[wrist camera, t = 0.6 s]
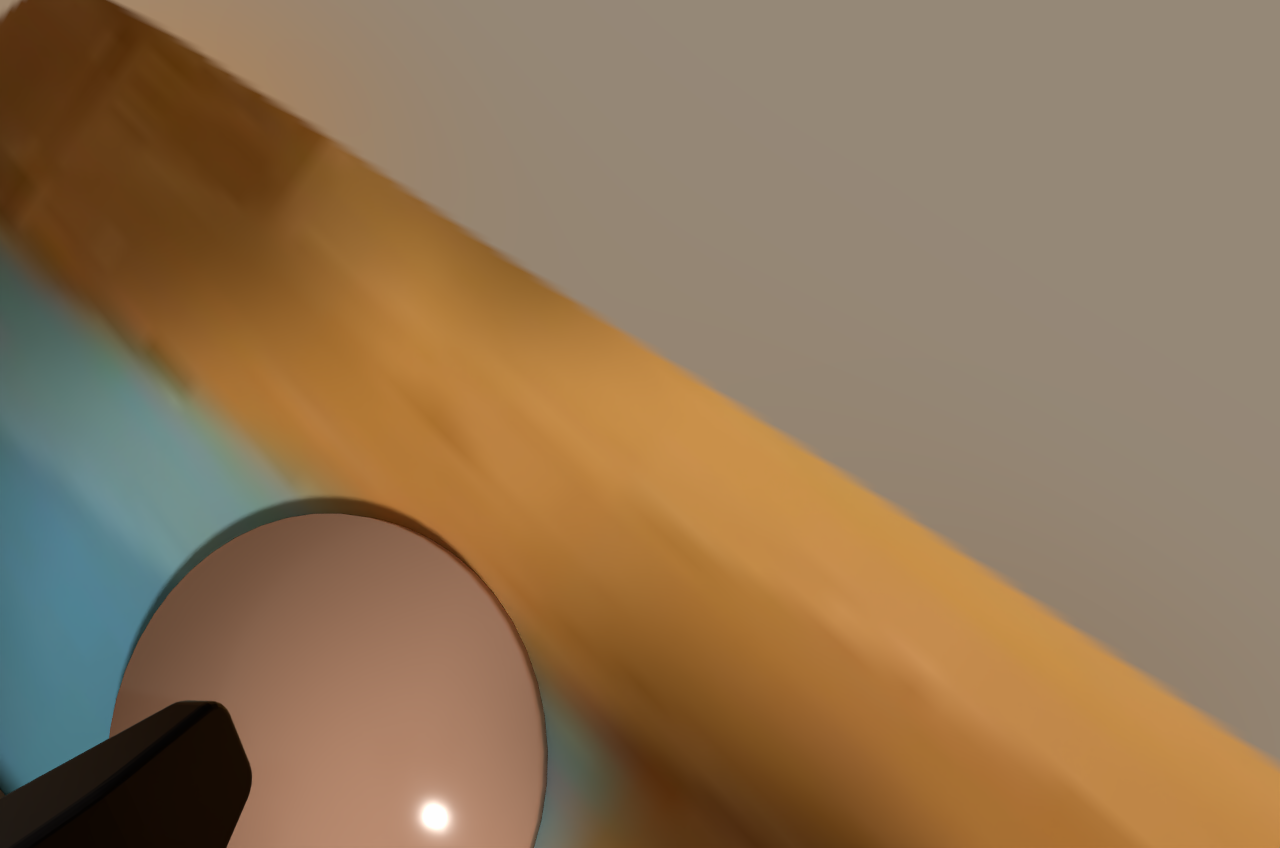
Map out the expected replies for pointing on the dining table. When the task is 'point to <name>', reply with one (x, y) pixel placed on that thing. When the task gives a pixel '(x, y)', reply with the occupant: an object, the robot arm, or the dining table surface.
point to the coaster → (354, 687)
